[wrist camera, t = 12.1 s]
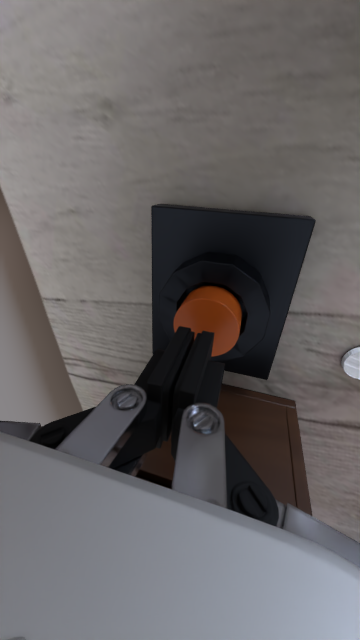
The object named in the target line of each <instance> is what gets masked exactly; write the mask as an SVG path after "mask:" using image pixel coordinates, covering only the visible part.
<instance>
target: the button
mask: <svg viewBox="0 0 360 640" xmlns="http://www.w3.org/2000/svg"><path fill="white" fill-rule="evenodd" d="M241 319H242V310H241V306H240V304H239V302H238V300H237V299H236V297H235V296H234V295H233V294H232V293H230V292H229V291H227V290H226V289H224V288H221V287H218V286H202V287H199V288H197V289H195V290H193V291H192V292H190V293H189V294H188V296H187V297H186V299H185V300H184V302H183V303H182V305H181V306H180V308H179V309H178V311H177V312H176V314H175V317H174V331H175V332H176V331H177V329H178V327H179V326H182V327H188V328H191V331H192V332H195V336H194V340H195V338H196V335H197V333H202V331H208V332H214V341H213V348H212V355H211V356H218V355H222V354H224V353H226V352H228V351H229V350H230V349H232V348H233V347H234V345H235V344H236V342H237V340H238V337H239V332H240V326H241Z"/></svg>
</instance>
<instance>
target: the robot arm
mask: <svg viewBox="0 0 360 640" xmlns="http://www.w3.org/2000/svg"><path fill="white" fill-rule="evenodd" d="M194 336H195V332H192V331H191V328H188V327H182V326H179V327H178V329H177V331H176V332H175V334H174V336H173V338H172V339H171V341H170V343H169V344H168V346H167V348H166V350H161V349H157V350H156V351H155V353H154V354H153V356H152V357H151V359H150V361H149V362H148V364H147V365H146V367H145V369H144V370H143V372H142V373H141V375H140V376H139V378H138V380H137V381H136V383H135V384H134V385H133V384H126V385H121V386H119V387H117V388H115V389H114V390H112V391H111V392H110V393H109V394H108V395H107V396H106V397H105V398H104V399H103V400H102V401H101V402H100V403H99V404H98V405H97V406H96V407H94V408H91V409H88V410H85V411H82V412H79V413H77V414H74V415H71V416H68V417H65V418H62V419H59V420H56V421H53V422H51V423H49V424H46V425H45V426H41V425H40V423H28V422H13V421H0V640H360V543H358V542H357V541H355V540H353V539H351V538H350V537H348V536H346V535H344V534H343V533H341V532H339V531H337V530H335V529H334V528H332V527H330V526H328V525H327V524H325V523H323V522H321V521H319V520H318V519H316V518H314V517H312V516H311V515H309V514H307V513H305V512H303V511H302V510H300V509H298V508H296V507H295V506H293V505H291V504H289V503H287V505H284V504H283V503H281V502H279V501H277V500H276V499H275V498H274V496H273V494H272V493H271V491H270V490H269V489H268V487H267V486H266V485H265V483H264V482H263V481H262V480H261V478H260V477H259V476H258V475H257V473H256V472H255V471H254V469H253V468H252V467H251V466H250V464H249V463H248V462H247V460H246V459H245V458H244V457H243V455H242V454H241V453H240V452H239V450H238V449H237V448H236V446H235V445H234V444H233V443H232V441H231V440H230V439H229V437H228V436H227V435H226V434H225V428H224V418H223V415H222V414H221V412H220V411H219V410H218V409H217V405H218V400H219V395H220V390H221V384H222V379H223V373H224V368H225V363H221V362H216V361H211V355H212V348H213V341H214V332H208V331H202V333H197V335H196V338H195V340H194ZM170 434H171V455H172V457H173V459H174V461H175V467H174V474H173V481H172V487H171V489H168V488H166V487H163V486H160V485H157V484H154V483H151V482H148V481H145V480H142V479H139V478H136V477H135V476H136V474H137V473H138V471H139V469H140V468H141V466H142V464H143V463H144V461H145V459H146V457H147V453H148V452H149V451H151V450H154V449H155V448H159V449H160V448H161V446H162V443H163V441H166V442H167V441H168V440H169V437H170Z"/></svg>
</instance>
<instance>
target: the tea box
mask: <svg viewBox="0 0 360 640" xmlns="http://www.w3.org/2000/svg"><path fill="white" fill-rule="evenodd" d="M217 409H218V410H219V411H220V412H221V414H222V415H223V418H224V428H225V434H226V435H227V436H228V437H229V439H230V440H231V441H232V443H233V444H234V445H235V446H236V448H237V449H238V450H239V452H240V453H241V454H242V455H243V457H244V458H245V459H246V460H247V462H248V463H249V464H250V466H251V467H252V468H253V469H254V471H255V472H256V473H257V475H258V476H259V477H260V478H261V480H262V481H263V482H264V483H265V485H266V486H267V487H268V489H269V490H270V491H271V493H272V494H273V496H274V498H275V499H276V500H277V501H279V502H281V503H283V504H284V505H287V503H289V504H291V505H293V506H295V507H296V508H298V509H300V510H302V511H303V512H305V513H307V514H309V515H311V516H312V510H311V504H310V497H309V490H308V484H307V477H306V471H305V464H304V457H303V451H302V444H301V437H300V431H299V424H298V417H297V411H296V404H295V401H292V400H288V399H284V398H280V397H276V396H271V395H267V394H263V393H259V392H254V391H250V390H246V389H242V388H238V387H233V386H229V385H225V384H221V390H220V395H219V400H218V405H217ZM174 467H175V461H174V459H173V457H172V455H171V434H170V437H169V440H168V441H167V442H166V441H163V443H162V446H161V448H160V449H159V448H155V449H154V450H151V451H149V452H148V453H147V457H146V459H145V461H144V463H143V464H142V466H141V468H140V469H139V471H138V473H137V474H136V476H135V477H138V478H141V479H144V480H146V481H149V482H152V483H155V484H158V485H161V486H164V487H167V488H170V489H171V487H172V481H173V474H174Z"/></svg>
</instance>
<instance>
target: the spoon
mask: <svg viewBox="0 0 360 640" xmlns="http://www.w3.org/2000/svg"><path fill="white" fill-rule="evenodd" d="M341 364H342V367H343V369H344V371H345V373H347V374H348V376H349V375H350V376H351V377H353V378H357V379H360V347H358V348H354V349H352V350H349V352H347V353H346V354H345V355H344V356H343V358H342V362H341Z"/></svg>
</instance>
